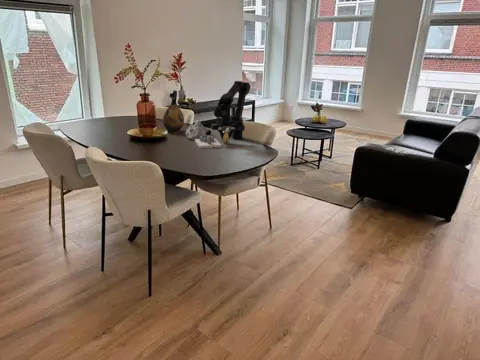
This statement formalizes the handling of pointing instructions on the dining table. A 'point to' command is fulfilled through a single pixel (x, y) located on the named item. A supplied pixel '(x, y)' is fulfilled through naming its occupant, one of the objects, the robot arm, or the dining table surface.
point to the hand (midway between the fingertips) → (225, 139)
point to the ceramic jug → (173, 116)
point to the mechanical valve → (196, 130)
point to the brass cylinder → (225, 137)
